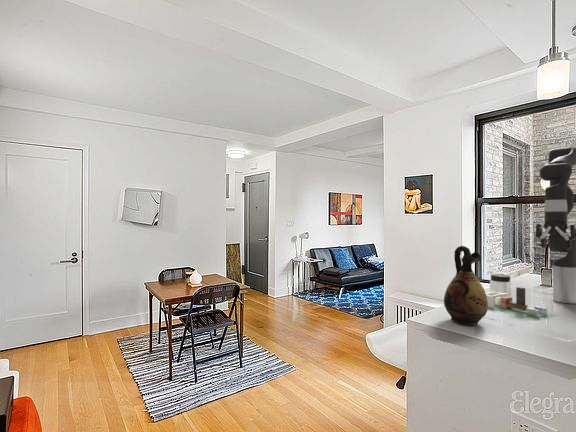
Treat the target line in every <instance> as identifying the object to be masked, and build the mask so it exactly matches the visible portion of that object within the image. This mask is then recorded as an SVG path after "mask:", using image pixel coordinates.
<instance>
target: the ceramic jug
mask: <svg viewBox="0 0 576 432" xmlns="http://www.w3.org/2000/svg"><path fill="white" fill-rule="evenodd" d="M462 253H463V256H462V258H461V255H462ZM453 258H454V263H455V264H454V265H455V270H456V273H455V276H454V277H453V278H452V279H451V280H450V283H449V284H448V285H447V286H446V287H447V288H446V290H445V292H444V295H443V304H444V308H445V310H446V312H447V313H448V314H449V316H450V317H451V318H450V321H452V323H455V324H456V325H459V326H466V327H475V326H478V323H479V322H480V321H481V320H482V319H484V317H485V316H486V315H487V313H488V310H489V308H488V301H487V296H486V293H487V292H486V291H485V289H484V287H483V285H482V283H481V281H480V280H479V278H478V277H477V276H476V275H477V274H475V272H474V271H473V269H472V268H473V267H472V264H474V263H477V262H480V261H482V256H481V255H480V253H479V252H478V251H474V252H472V253H471V250H470V248H469V247H467V246H466V245H460V246H457V248H456V249H455V250H454V256H453Z"/></svg>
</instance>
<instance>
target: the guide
mask: <svg viewBox="0 0 576 432" xmlns="http://www.w3.org/2000/svg"><path fill="white" fill-rule="evenodd" d="M547 313H548V308H546V307H542V306H539V305H538V306H537V305H536V306H534V308H530V307H527V315H528V316H532V317H536V318H539V317H544V316H547Z"/></svg>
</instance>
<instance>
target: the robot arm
mask: <svg viewBox="0 0 576 432" xmlns="http://www.w3.org/2000/svg"><path fill="white" fill-rule="evenodd" d="M575 165H576V147H575V146H568V147H558V148H552V149H550V150H549V152H548V163H545V164H544V165H542V167H541V168H540V170H539V177H540V178H541V180H543V181H545V182H546V181H547V182H549V186H547V187H546V188H545V190H544V195H545V196H544V198H545V199H544V209H543V210H544V224H542V223H537V224H536V225H535V238H538V239H540V246H541V248H543V249H546V248H548V249H549V250H550V251H551V252H556V253H557V252H559V253H566V255H565V256H562V257H560V258H554V259H553V260H552V269H551V271H552V272H551V273H552V281H551V282H552V283H551V285H552V287H551V288H552V289H551V290H552V295H551V296H552V299H551V300H552V301H555V302H558V303H561V304H563V303H565V304H576V224H568V215H569V214H570V213H571V212H572V210H573V209H574V207H575V206H574V205H575V201H574V200H575V197H574V192H573V189H571V187H570V186H569V181H570V178H571V176H572V173H573V166H575ZM543 229H545V230H544V232H543ZM567 230H569V231H570V232H568V231H567ZM547 238H548V239H547Z"/></svg>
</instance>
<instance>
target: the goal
mask: <svg viewBox="0 0 576 432" xmlns="http://www.w3.org/2000/svg"><path fill="white" fill-rule="evenodd" d="M485 293H486V296H487V301H488V307H492V308H495V298H497V297H500V298H501V297H507V296H508V297H509V293H500V292H490V291H489V292H485Z"/></svg>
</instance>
